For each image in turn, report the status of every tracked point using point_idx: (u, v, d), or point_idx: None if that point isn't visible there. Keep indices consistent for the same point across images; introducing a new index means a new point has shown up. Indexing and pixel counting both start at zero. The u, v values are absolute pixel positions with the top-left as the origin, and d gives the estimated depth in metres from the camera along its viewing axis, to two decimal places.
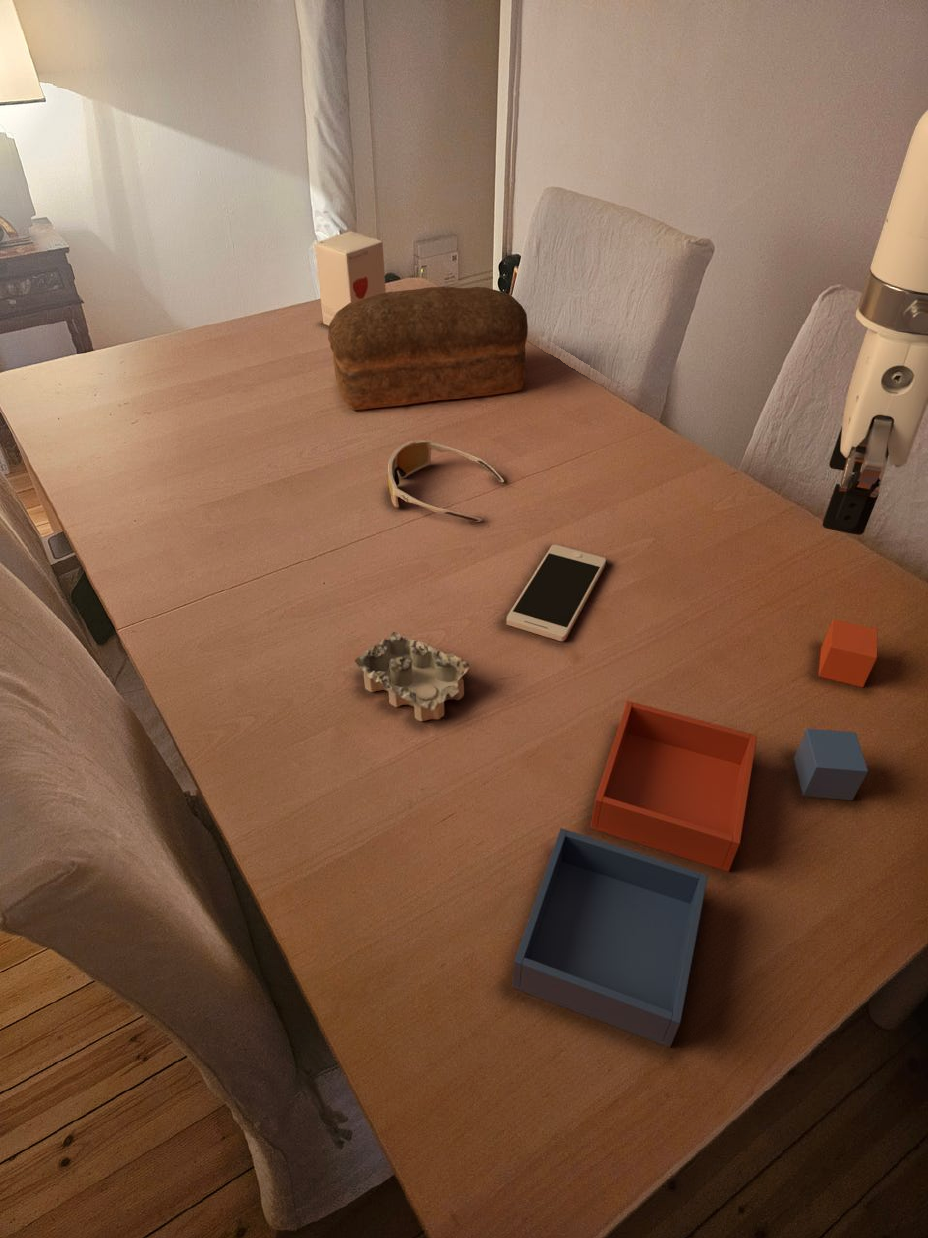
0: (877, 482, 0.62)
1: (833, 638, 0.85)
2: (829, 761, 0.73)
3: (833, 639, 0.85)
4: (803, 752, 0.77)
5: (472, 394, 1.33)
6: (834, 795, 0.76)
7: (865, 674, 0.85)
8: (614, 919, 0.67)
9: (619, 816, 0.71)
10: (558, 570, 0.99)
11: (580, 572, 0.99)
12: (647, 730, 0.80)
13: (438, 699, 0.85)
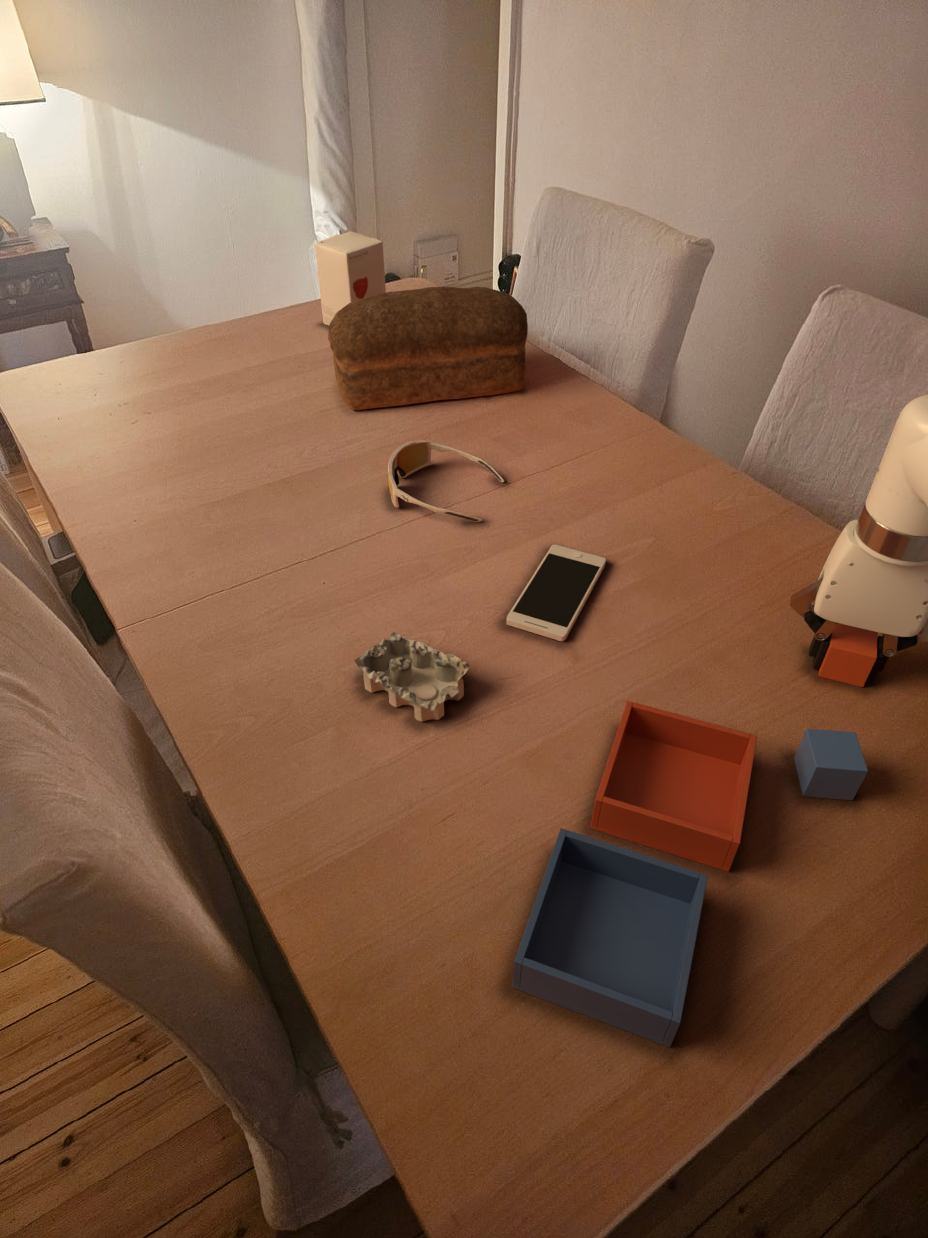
0: None
1: (833, 638, 0.85)
2: (829, 761, 0.73)
3: (833, 639, 0.85)
4: (803, 752, 0.77)
5: (472, 394, 1.33)
6: (834, 795, 0.76)
7: (865, 674, 0.85)
8: (614, 919, 0.67)
9: (619, 816, 0.71)
10: (558, 570, 0.99)
11: (580, 572, 0.99)
12: (647, 730, 0.80)
13: (438, 699, 0.85)
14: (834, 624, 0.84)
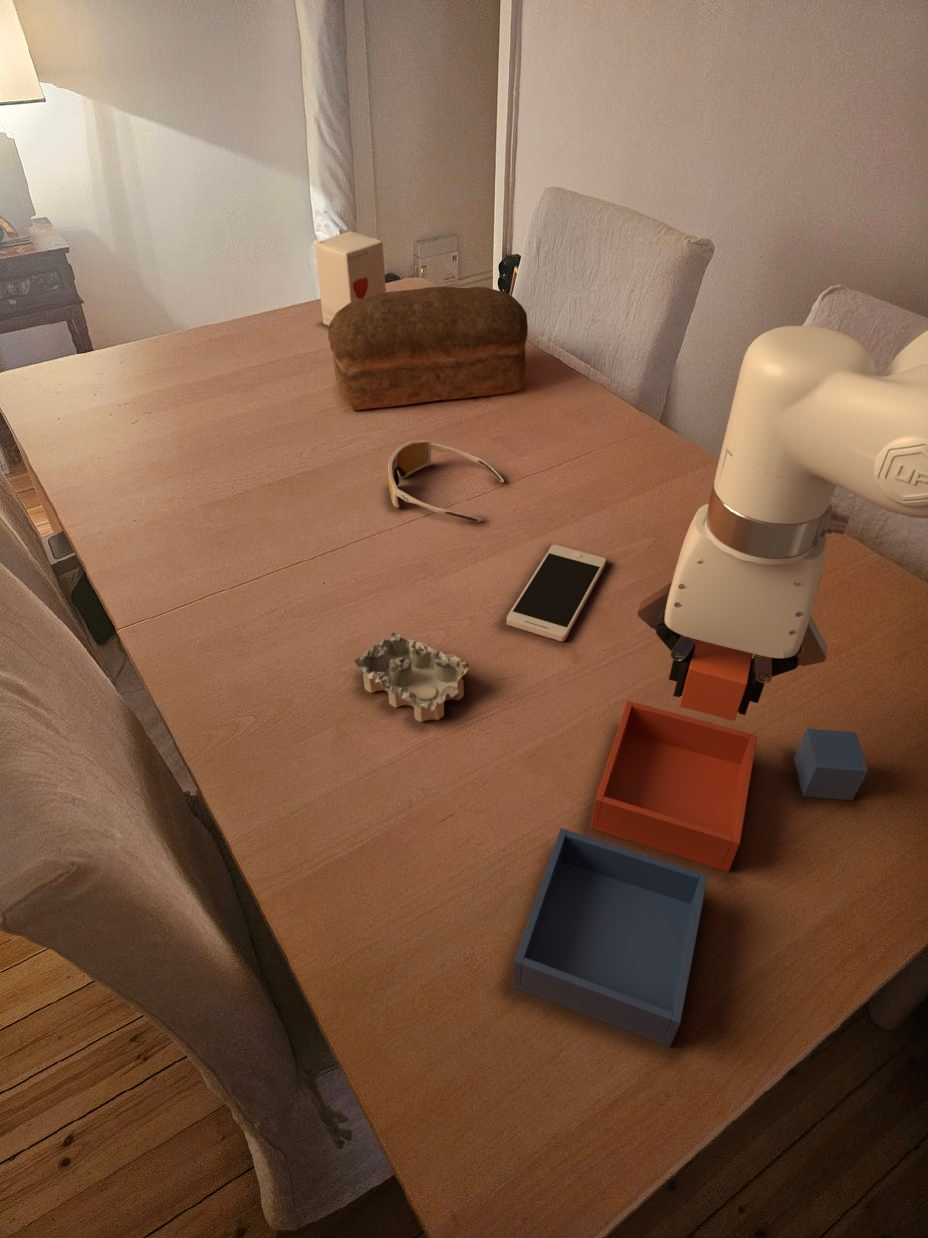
0: None
1: (694, 658, 0.66)
2: (829, 761, 0.73)
3: (694, 659, 0.66)
4: (803, 752, 0.77)
5: (472, 394, 1.33)
6: (834, 795, 0.76)
7: (735, 705, 0.65)
8: (614, 919, 0.67)
9: (619, 816, 0.71)
10: (558, 570, 0.99)
11: (580, 572, 0.99)
12: (647, 730, 0.80)
13: (438, 699, 0.85)
14: (692, 640, 0.64)
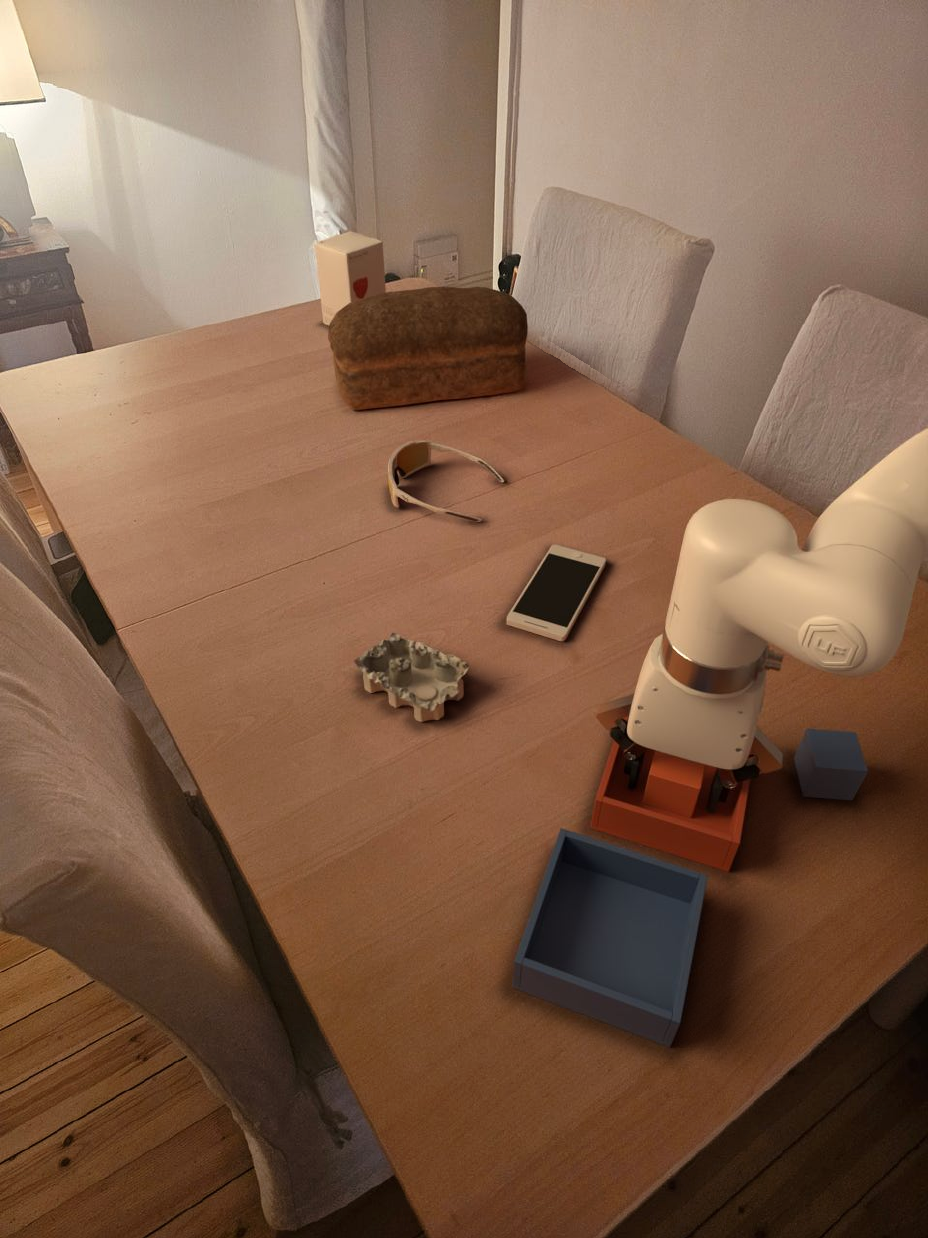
0: None
1: (654, 763, 0.73)
2: (829, 761, 0.73)
3: (653, 764, 0.73)
4: (803, 752, 0.77)
5: (472, 394, 1.33)
6: (834, 795, 0.76)
7: (691, 805, 0.73)
8: (614, 919, 0.67)
9: (619, 816, 0.71)
10: (558, 570, 0.99)
11: (580, 572, 0.99)
12: None
13: (438, 700, 0.85)
14: (645, 746, 0.71)
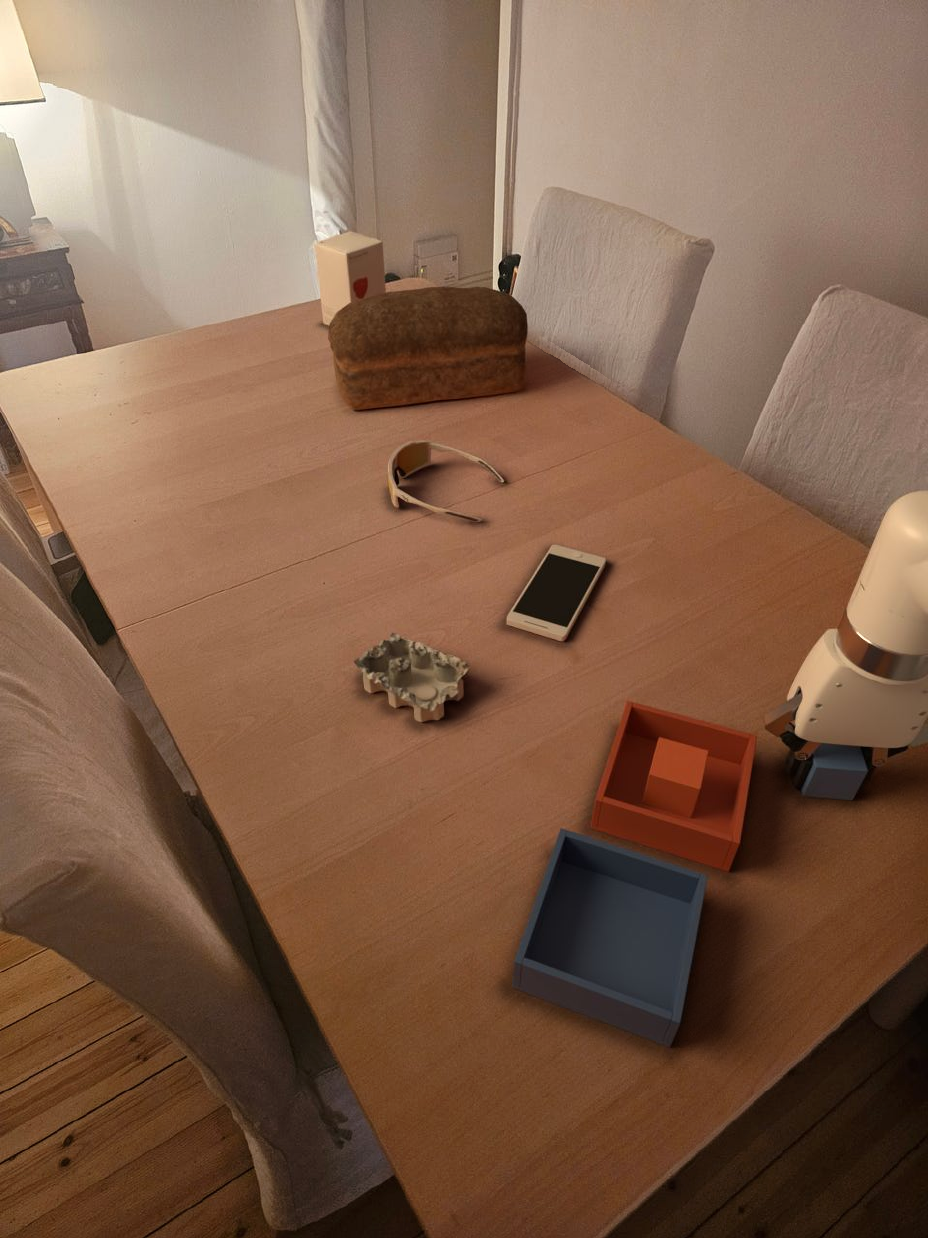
0: None
1: (654, 763, 0.73)
2: (829, 761, 0.73)
3: (653, 764, 0.73)
4: None
5: (472, 394, 1.33)
6: (833, 795, 0.76)
7: (691, 805, 0.73)
8: (614, 919, 0.67)
9: (619, 816, 0.71)
10: (558, 570, 0.99)
11: (580, 572, 0.99)
12: (647, 730, 0.80)
13: (437, 700, 0.85)
14: (817, 743, 0.72)
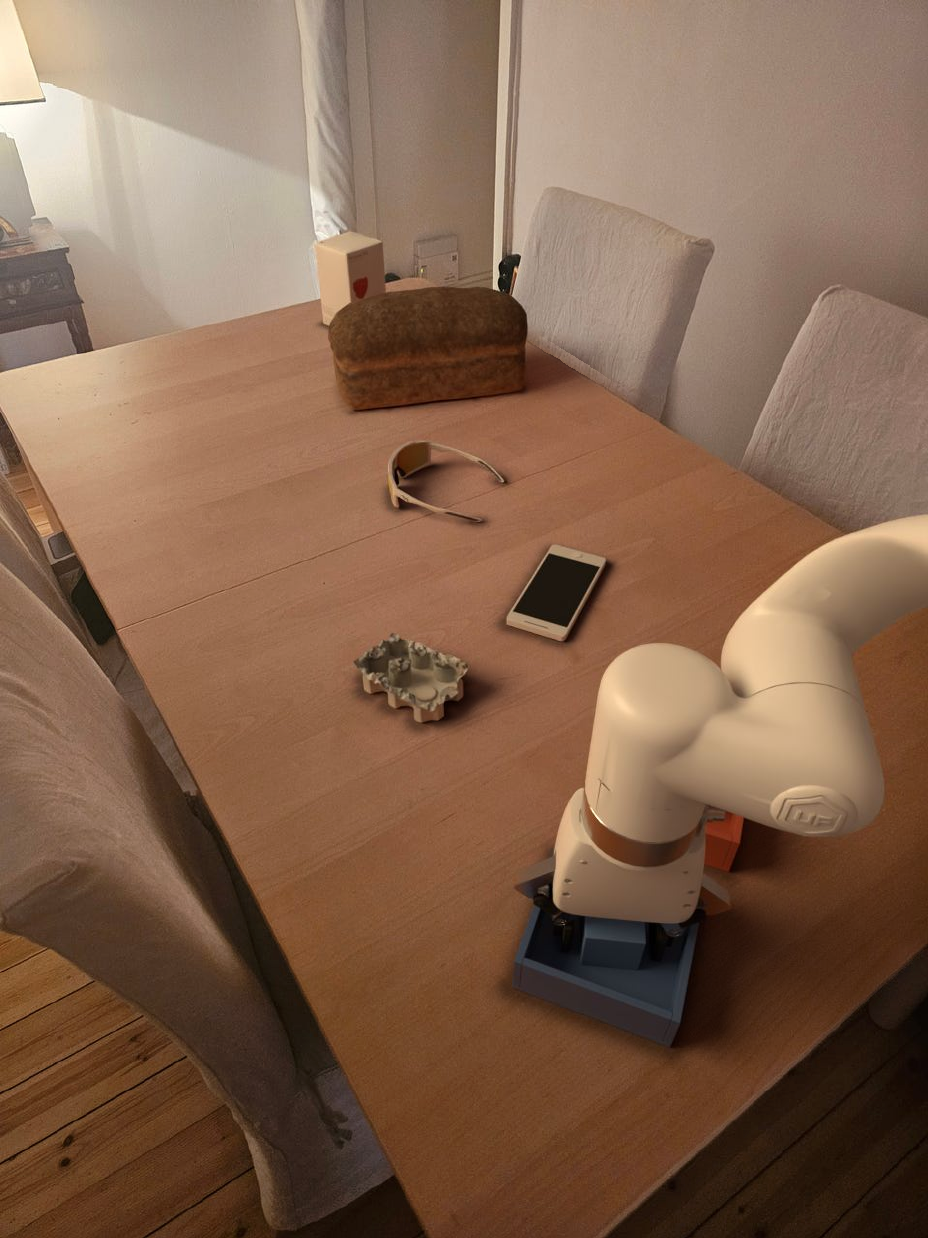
0: None
1: None
2: (603, 930, 0.62)
3: None
4: None
5: (472, 394, 1.33)
6: (615, 965, 0.64)
7: None
8: None
9: None
10: (558, 570, 0.99)
11: (580, 572, 0.99)
12: None
13: (437, 700, 0.85)
14: None
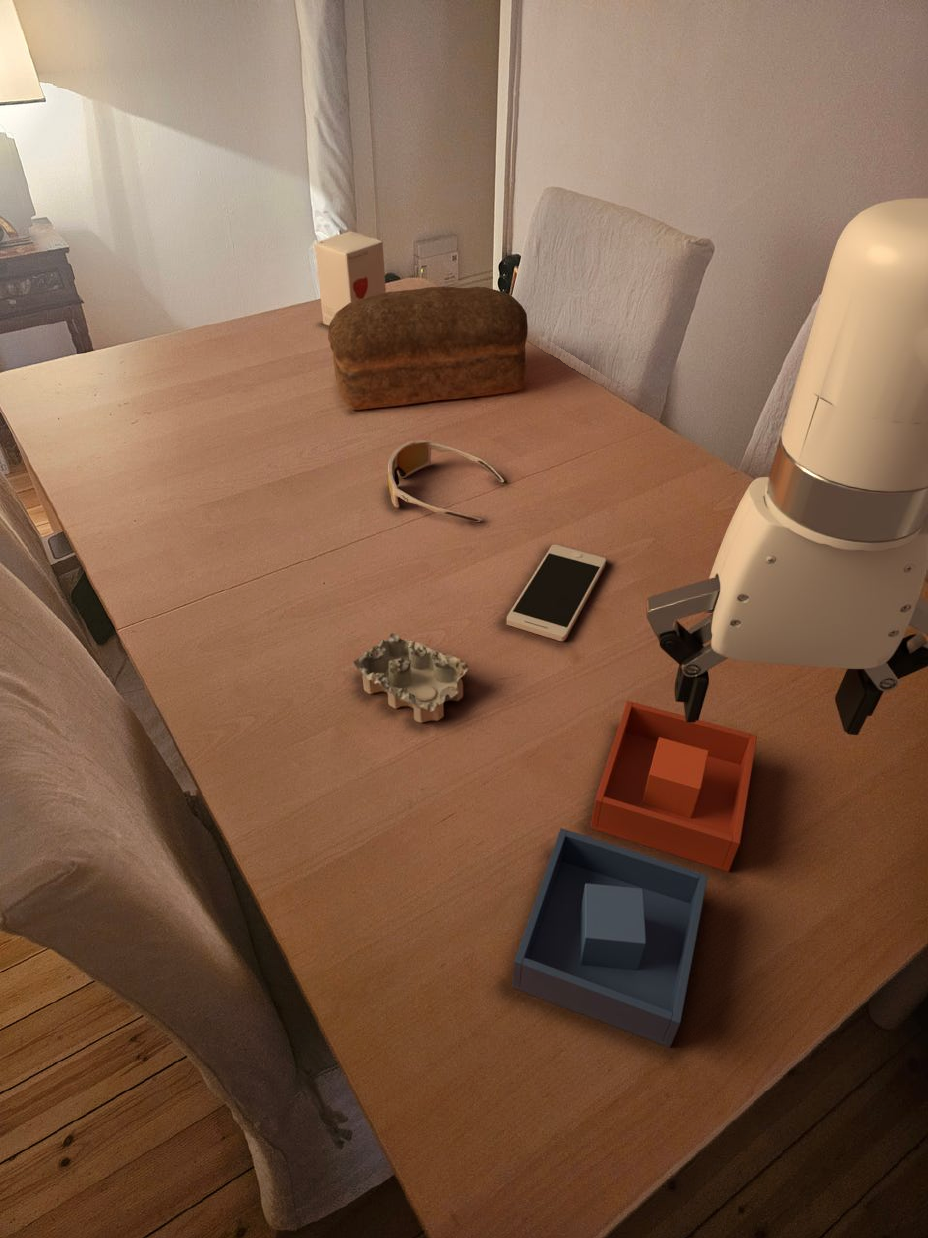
0: None
1: (654, 763, 0.73)
2: (603, 930, 0.62)
3: (653, 764, 0.73)
4: (583, 910, 0.65)
5: (472, 394, 1.33)
6: (615, 965, 0.64)
7: (691, 805, 0.73)
8: None
9: (619, 816, 0.71)
10: (558, 570, 0.99)
11: (580, 572, 0.99)
12: (647, 730, 0.80)
13: (437, 700, 0.85)
14: None
